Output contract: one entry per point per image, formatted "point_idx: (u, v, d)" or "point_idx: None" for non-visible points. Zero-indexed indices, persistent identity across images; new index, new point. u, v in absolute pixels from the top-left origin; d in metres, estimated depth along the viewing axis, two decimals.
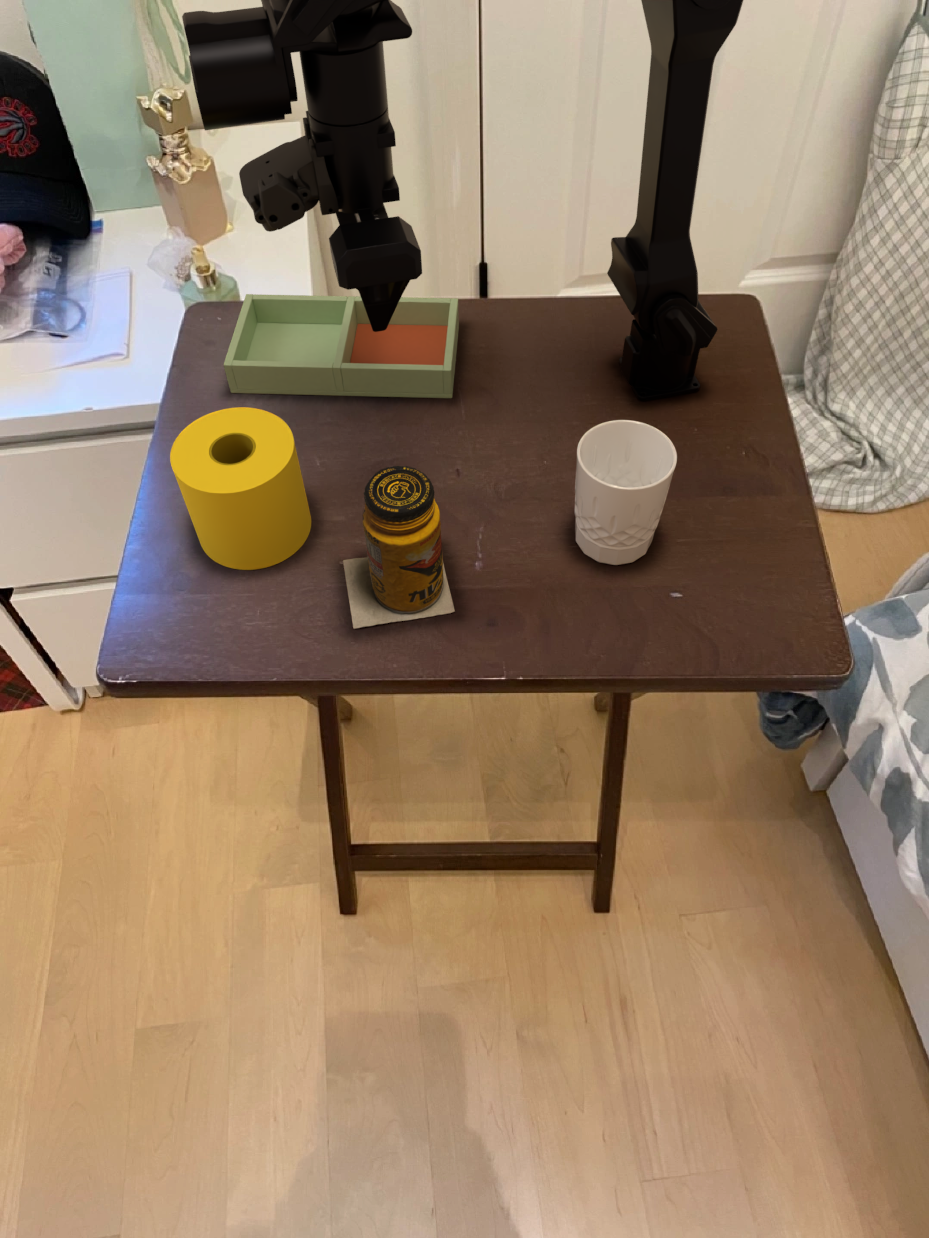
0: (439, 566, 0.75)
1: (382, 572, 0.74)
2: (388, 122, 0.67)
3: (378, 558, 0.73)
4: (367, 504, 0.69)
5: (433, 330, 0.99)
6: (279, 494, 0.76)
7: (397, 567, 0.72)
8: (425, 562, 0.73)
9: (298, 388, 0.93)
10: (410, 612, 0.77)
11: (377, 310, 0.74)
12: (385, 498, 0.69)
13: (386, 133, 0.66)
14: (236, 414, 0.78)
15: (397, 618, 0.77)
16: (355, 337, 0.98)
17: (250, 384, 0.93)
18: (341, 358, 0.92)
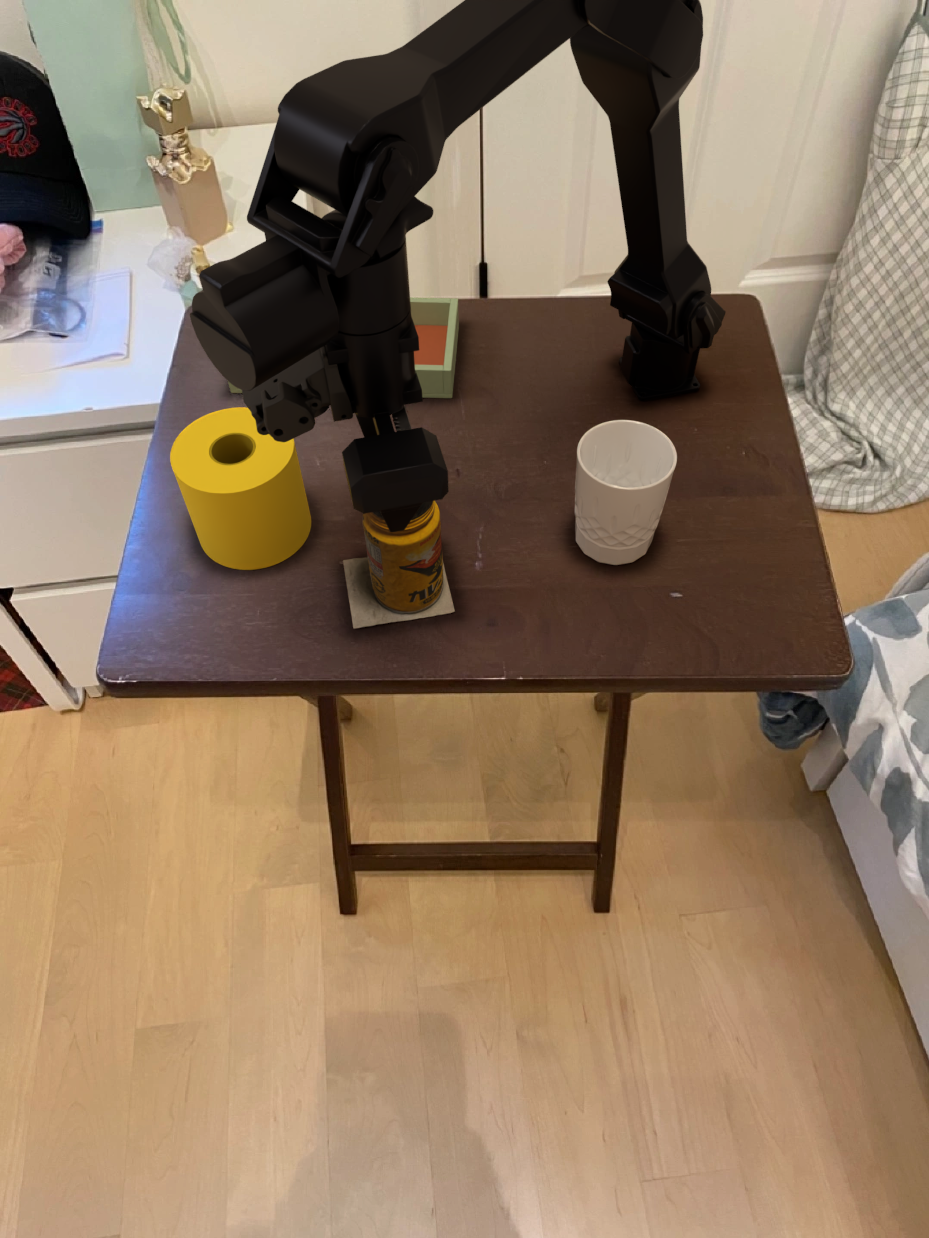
0: (439, 566, 0.75)
1: (382, 572, 0.74)
2: (411, 323, 0.58)
3: (378, 558, 0.73)
4: None
5: (433, 330, 0.99)
6: (279, 494, 0.76)
7: (397, 567, 0.72)
8: (425, 562, 0.73)
9: None
10: (410, 612, 0.77)
11: (395, 514, 0.65)
12: None
13: (408, 338, 0.58)
14: (236, 414, 0.78)
15: (397, 618, 0.77)
16: None
17: None
18: None
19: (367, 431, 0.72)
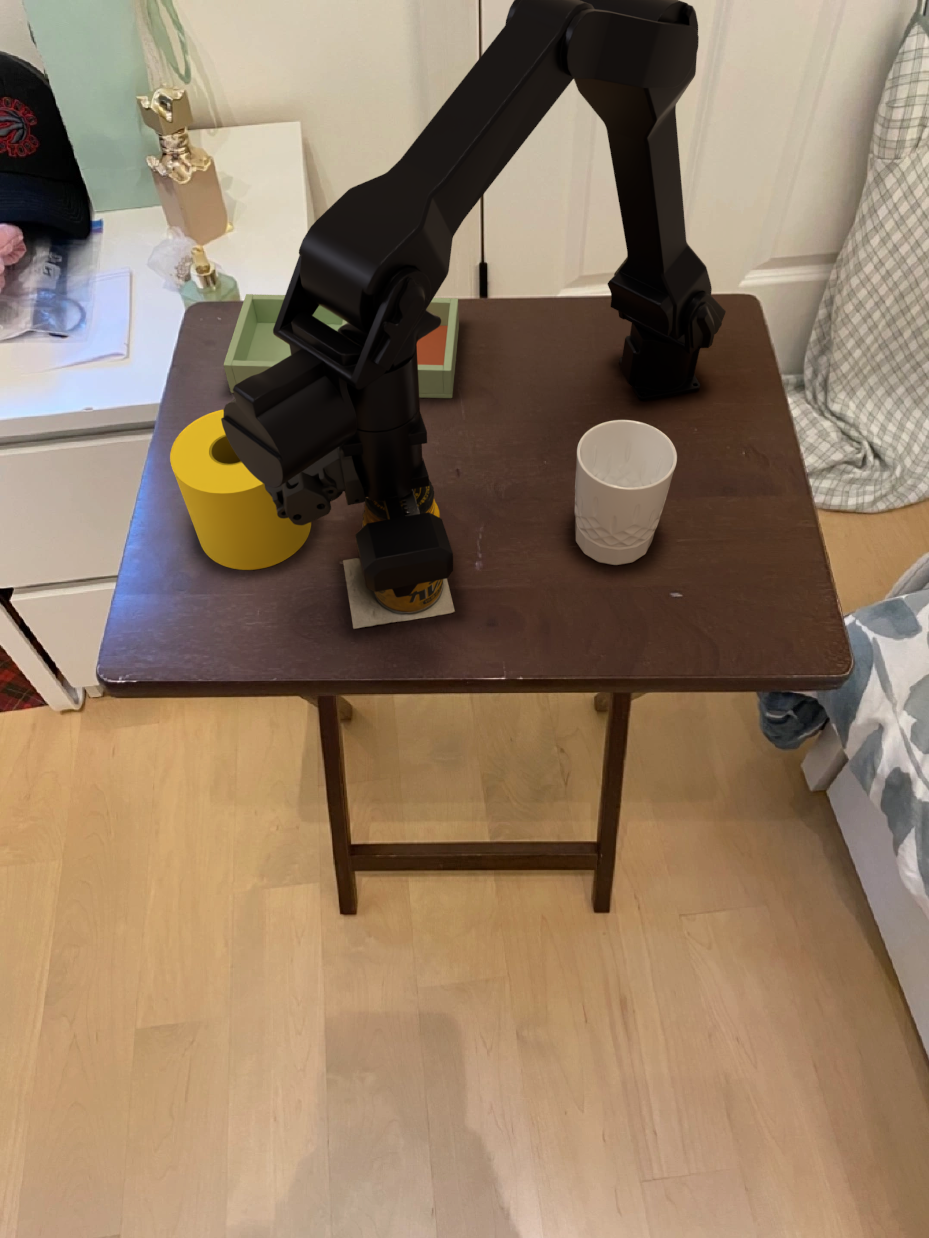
0: None
1: None
2: (419, 418, 0.64)
3: None
4: (367, 504, 0.69)
5: (433, 330, 0.99)
6: None
7: None
8: None
9: None
10: (410, 612, 0.77)
11: None
12: None
13: (417, 433, 0.63)
14: None
15: (397, 619, 0.77)
16: None
17: None
18: None
19: None
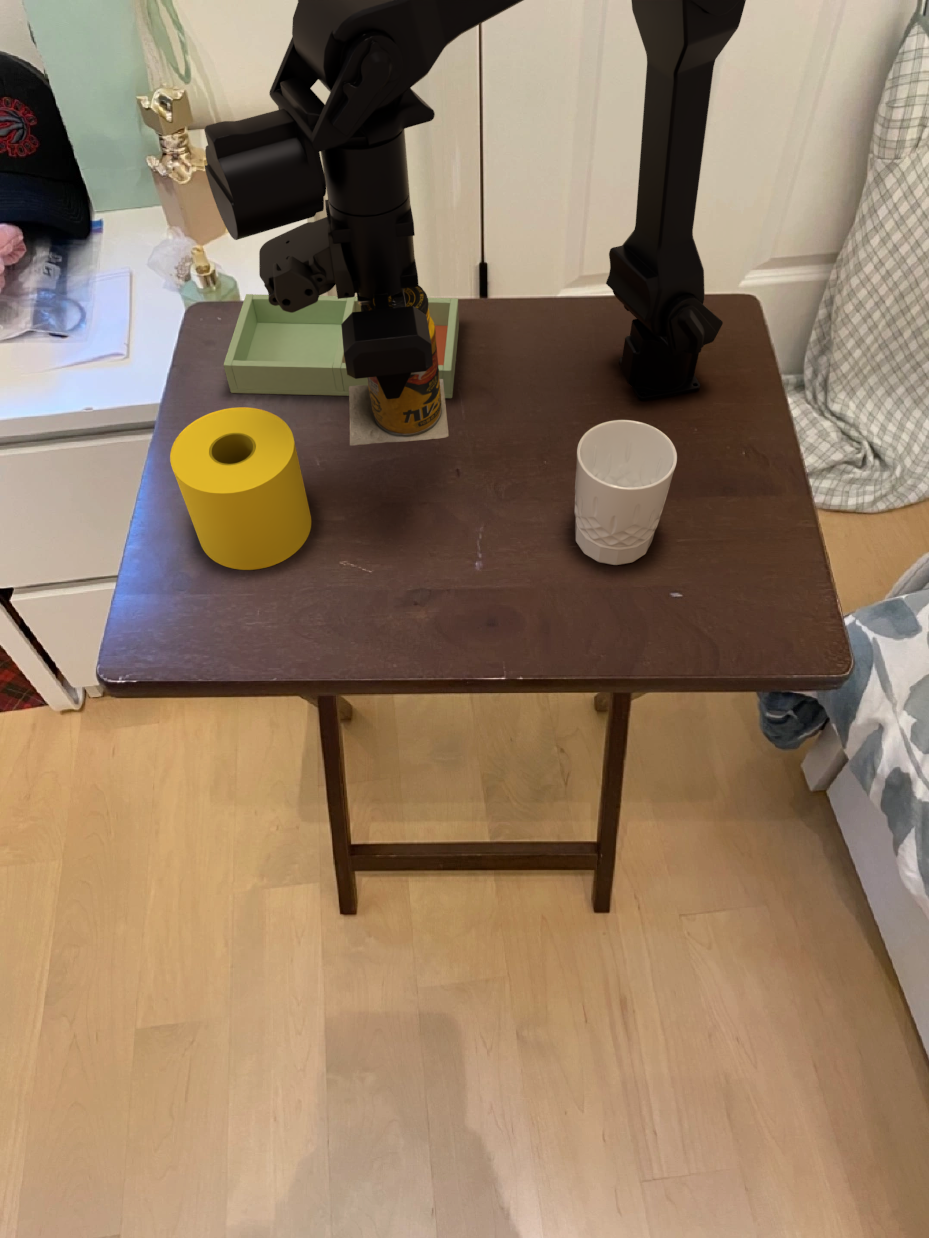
0: (434, 387, 0.78)
1: (377, 387, 0.76)
2: (409, 210, 0.66)
3: None
4: None
5: None
6: (279, 494, 0.76)
7: None
8: (418, 378, 0.75)
9: (298, 388, 0.93)
10: (406, 434, 0.80)
11: (389, 380, 0.74)
12: None
13: (404, 223, 0.65)
14: (236, 415, 0.78)
15: (393, 440, 0.80)
16: None
17: (250, 384, 0.93)
18: (341, 358, 0.92)
19: None
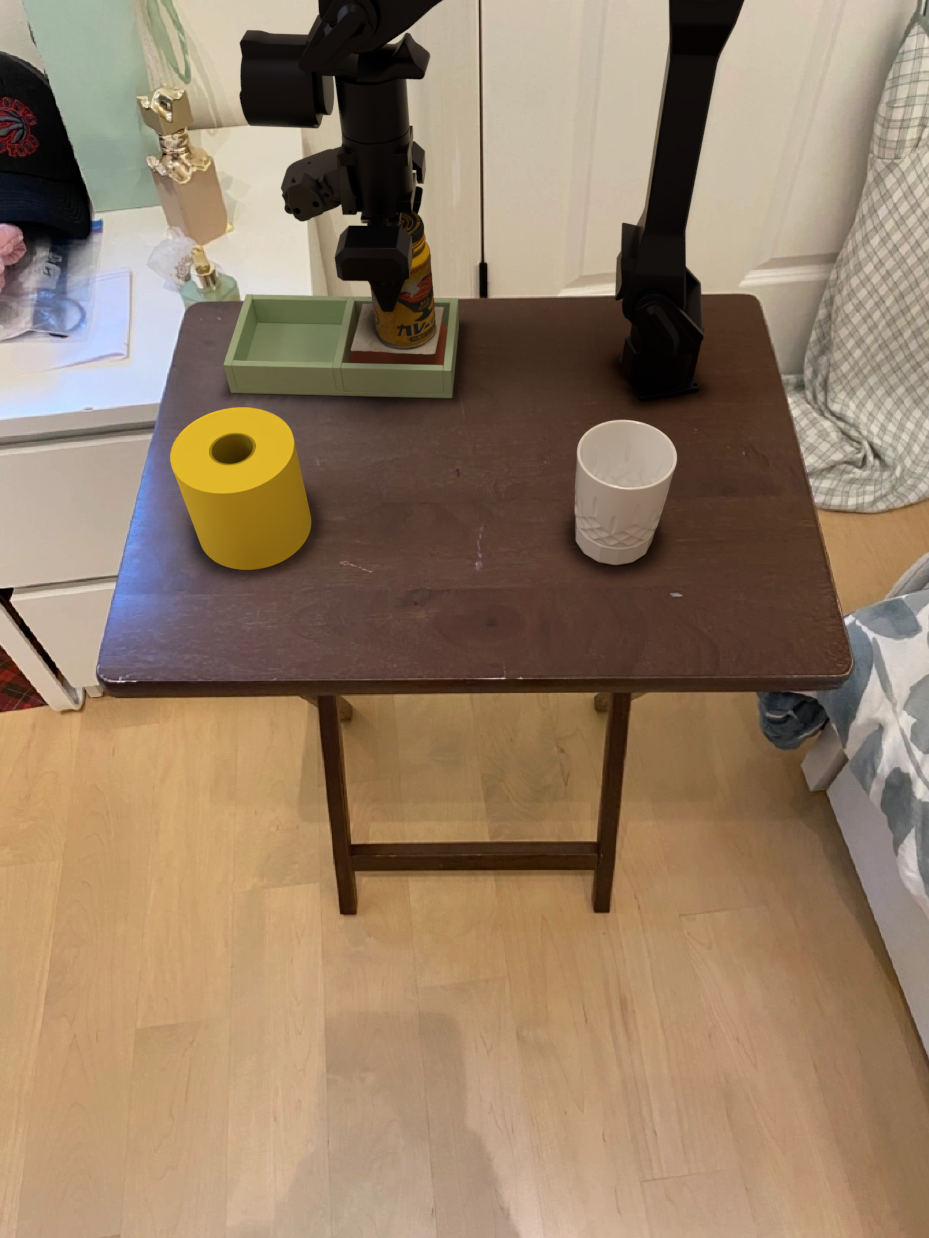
0: (426, 308, 0.90)
1: (376, 300, 0.89)
2: (406, 145, 0.78)
3: None
4: None
5: None
6: (279, 494, 0.76)
7: None
8: (410, 296, 0.87)
9: (298, 388, 0.93)
10: (399, 347, 0.92)
11: (383, 293, 0.86)
12: None
13: (400, 154, 0.77)
14: (236, 415, 0.78)
15: (387, 350, 0.92)
16: None
17: (250, 384, 0.93)
18: (341, 358, 0.92)
19: None
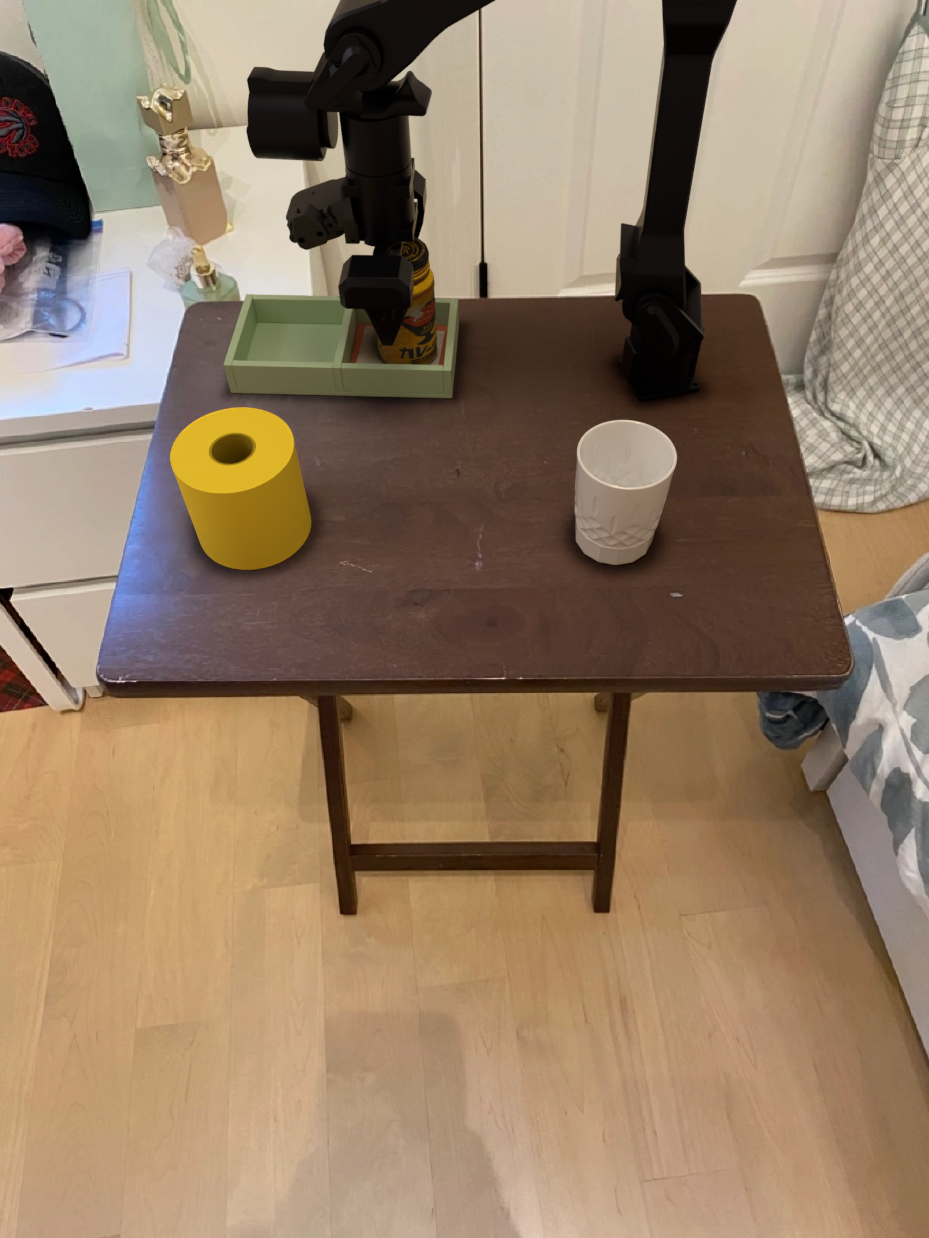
0: (428, 332, 0.92)
1: None
2: (408, 177, 0.80)
3: None
4: None
5: None
6: (279, 494, 0.76)
7: None
8: (413, 320, 0.90)
9: (298, 388, 0.93)
10: None
11: (383, 328, 0.88)
12: None
13: (402, 186, 0.79)
14: (236, 414, 0.78)
15: None
16: (355, 337, 0.98)
17: (250, 384, 0.93)
18: (341, 358, 0.92)
19: None
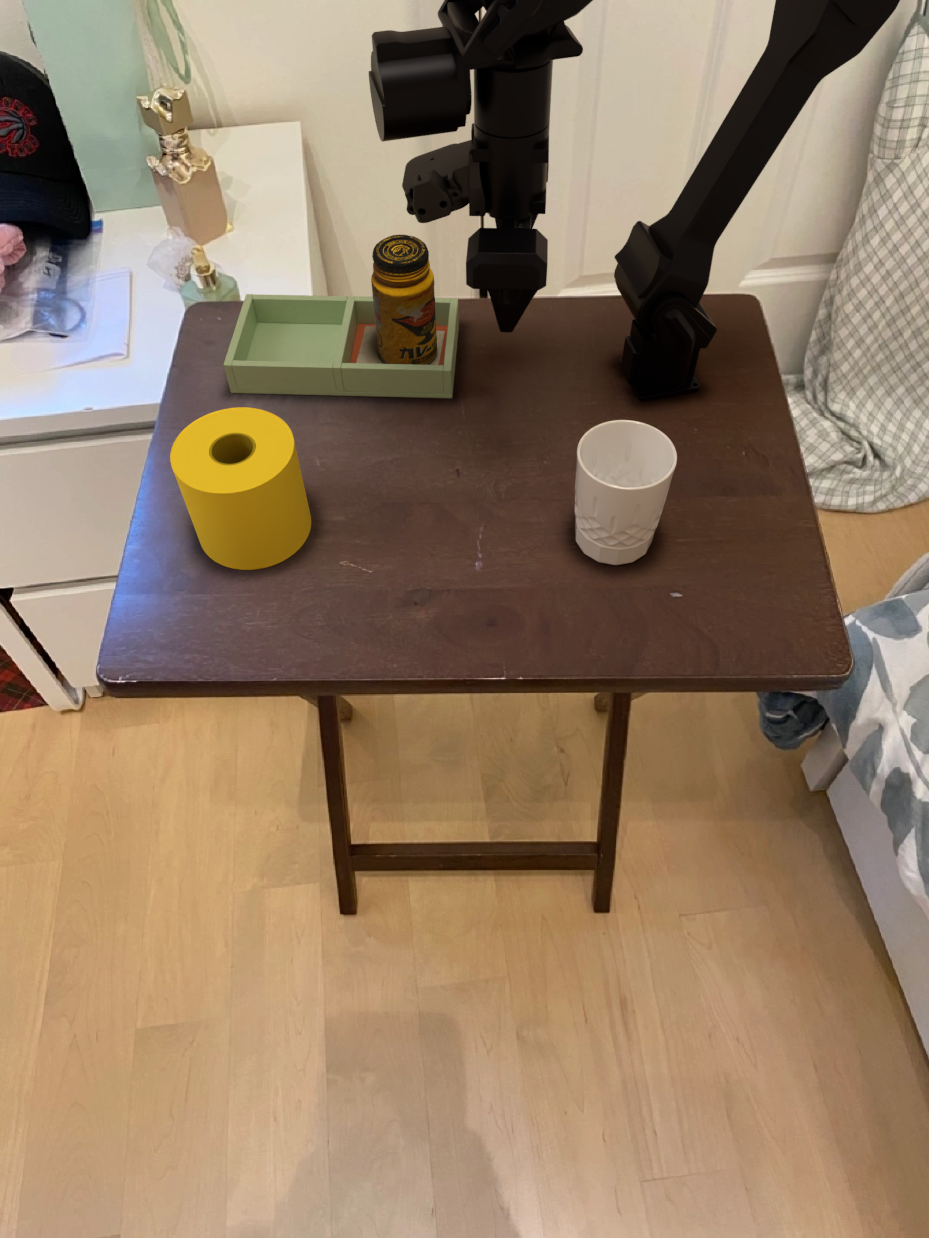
0: (428, 332, 0.92)
1: (380, 323, 0.91)
2: (546, 139, 0.71)
3: (377, 309, 0.90)
4: (373, 256, 0.87)
5: None
6: (279, 494, 0.76)
7: (390, 318, 0.90)
8: (413, 320, 0.90)
9: (298, 388, 0.93)
10: None
11: (505, 312, 0.78)
12: (387, 254, 0.87)
13: (540, 149, 0.70)
14: (236, 414, 0.78)
15: None
16: (355, 337, 0.98)
17: (250, 384, 0.93)
18: (341, 358, 0.92)
19: None
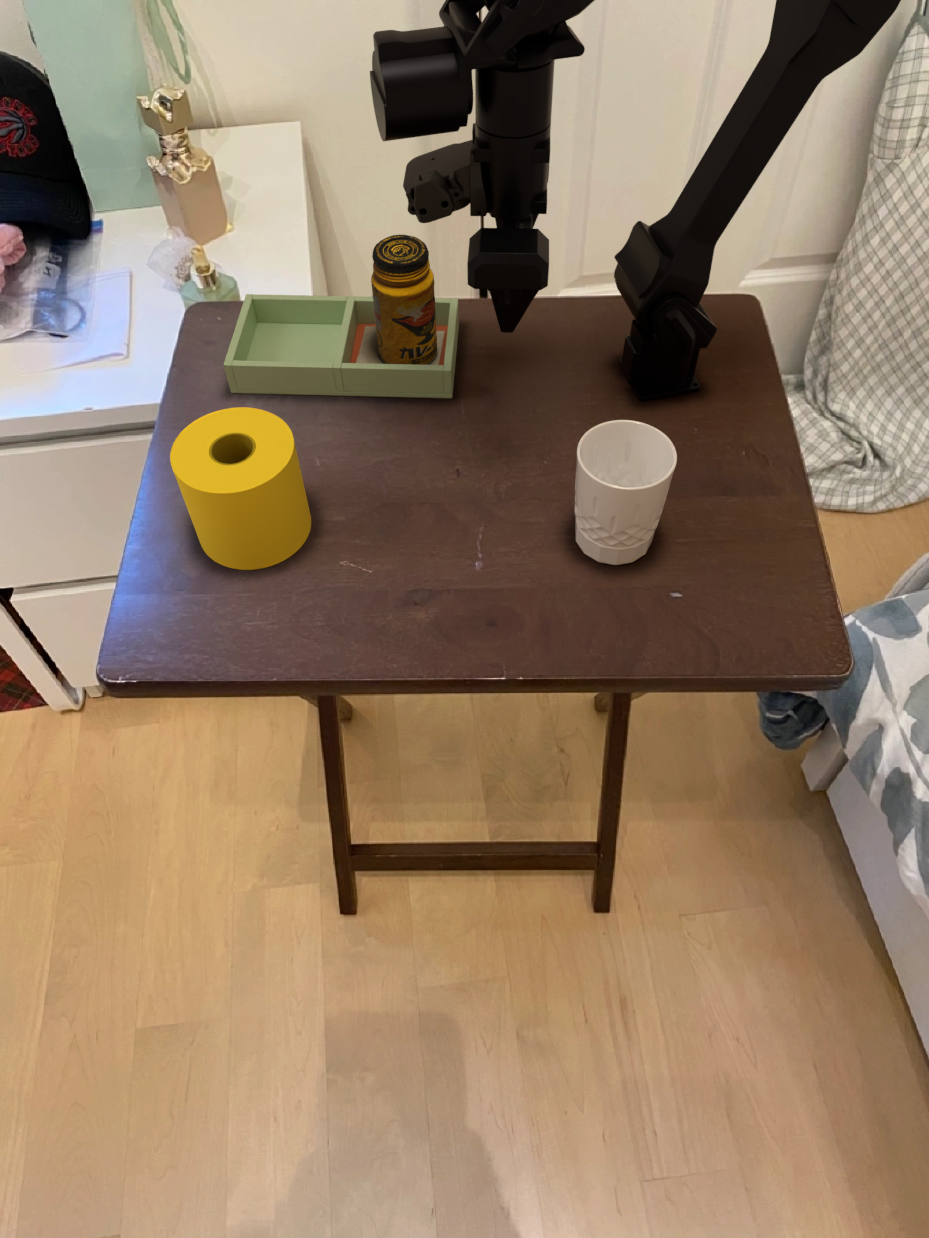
0: (428, 332, 0.92)
1: (380, 323, 0.91)
2: (547, 139, 0.70)
3: (377, 309, 0.90)
4: (372, 256, 0.87)
5: None
6: (279, 494, 0.76)
7: (390, 318, 0.90)
8: (413, 320, 0.90)
9: (298, 388, 0.93)
10: None
11: (506, 312, 0.78)
12: (387, 254, 0.87)
13: (542, 149, 0.70)
14: (236, 414, 0.78)
15: None
16: (355, 337, 0.98)
17: (250, 384, 0.93)
18: (341, 358, 0.92)
19: None
